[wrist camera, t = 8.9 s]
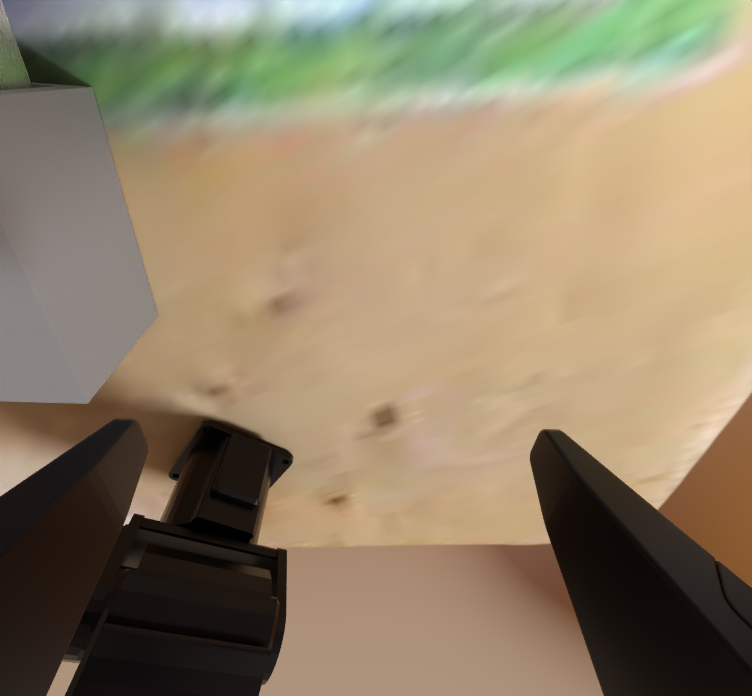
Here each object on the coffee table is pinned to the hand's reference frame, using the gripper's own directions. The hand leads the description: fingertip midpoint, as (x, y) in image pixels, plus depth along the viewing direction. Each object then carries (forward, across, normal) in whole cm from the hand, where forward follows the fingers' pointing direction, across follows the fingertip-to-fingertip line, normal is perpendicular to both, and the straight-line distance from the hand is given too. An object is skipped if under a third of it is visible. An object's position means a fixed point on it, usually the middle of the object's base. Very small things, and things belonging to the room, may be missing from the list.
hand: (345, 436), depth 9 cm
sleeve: (+12, +13, 0) cm, 18 cm away
